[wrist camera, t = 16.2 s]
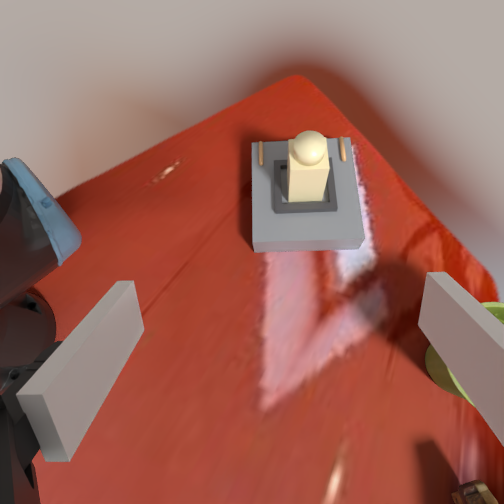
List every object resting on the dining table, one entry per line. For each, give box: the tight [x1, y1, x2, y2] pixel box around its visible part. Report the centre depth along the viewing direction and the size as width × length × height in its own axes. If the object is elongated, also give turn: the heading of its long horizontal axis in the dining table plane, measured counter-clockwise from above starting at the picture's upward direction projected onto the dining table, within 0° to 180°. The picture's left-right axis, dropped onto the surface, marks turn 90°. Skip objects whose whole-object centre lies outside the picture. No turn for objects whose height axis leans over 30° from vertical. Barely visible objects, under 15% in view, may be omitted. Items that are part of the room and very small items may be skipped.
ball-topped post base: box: [252, 137, 365, 253], centre depth 52 cm, size 16×18×5 cm
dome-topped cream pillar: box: [287, 131, 330, 202], centre depth 46 cm, size 5×5×10 cm
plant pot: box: [425, 302, 504, 408], centre depth 38 cm, size 12×12×11 cm
